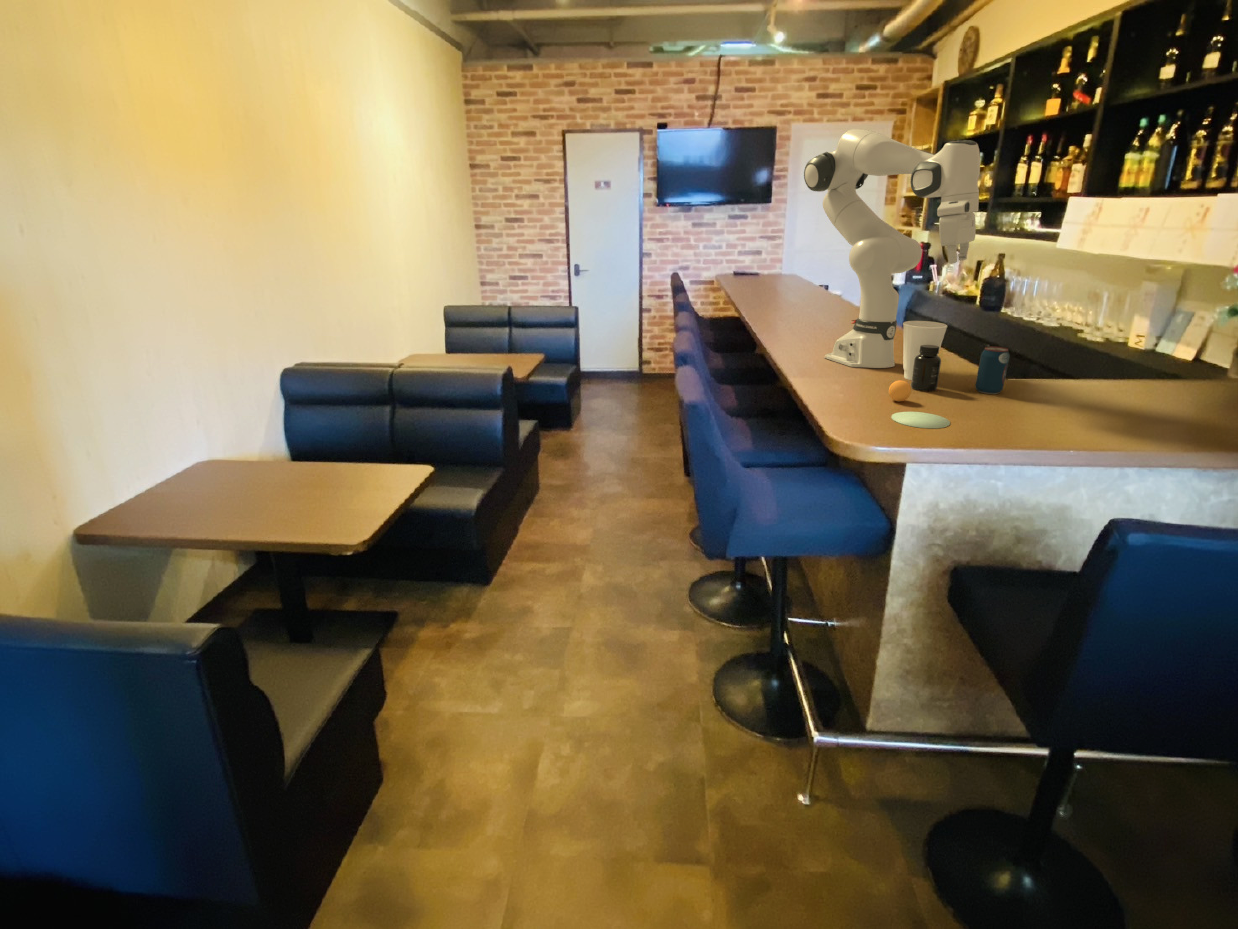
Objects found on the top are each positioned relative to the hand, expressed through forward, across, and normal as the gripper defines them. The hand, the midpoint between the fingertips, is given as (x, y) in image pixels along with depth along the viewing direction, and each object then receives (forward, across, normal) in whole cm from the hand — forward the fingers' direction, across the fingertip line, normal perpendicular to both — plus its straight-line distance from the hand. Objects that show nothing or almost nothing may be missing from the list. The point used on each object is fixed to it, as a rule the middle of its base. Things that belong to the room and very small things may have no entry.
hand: (957, 261), depth 185 cm
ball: (+30, +24, -7) cm, 39 cm away
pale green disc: (+34, +38, +2) cm, 51 cm away
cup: (+33, -5, -12) cm, 36 cm away
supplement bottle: (+34, +6, -6) cm, 35 cm away
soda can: (+36, -2, +8) cm, 37 cm away
